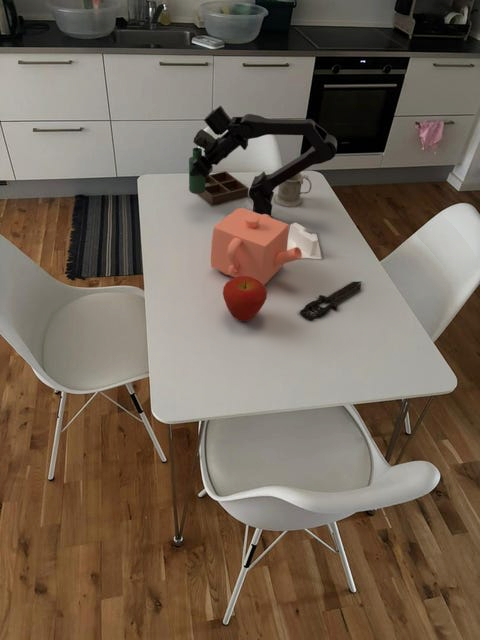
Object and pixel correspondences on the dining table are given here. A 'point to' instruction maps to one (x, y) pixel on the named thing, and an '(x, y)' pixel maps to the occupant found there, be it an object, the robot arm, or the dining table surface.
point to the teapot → (251, 245)
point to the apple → (244, 297)
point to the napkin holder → (303, 242)
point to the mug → (291, 191)
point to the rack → (223, 189)
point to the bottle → (196, 181)
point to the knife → (326, 299)
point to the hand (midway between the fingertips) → (193, 171)
